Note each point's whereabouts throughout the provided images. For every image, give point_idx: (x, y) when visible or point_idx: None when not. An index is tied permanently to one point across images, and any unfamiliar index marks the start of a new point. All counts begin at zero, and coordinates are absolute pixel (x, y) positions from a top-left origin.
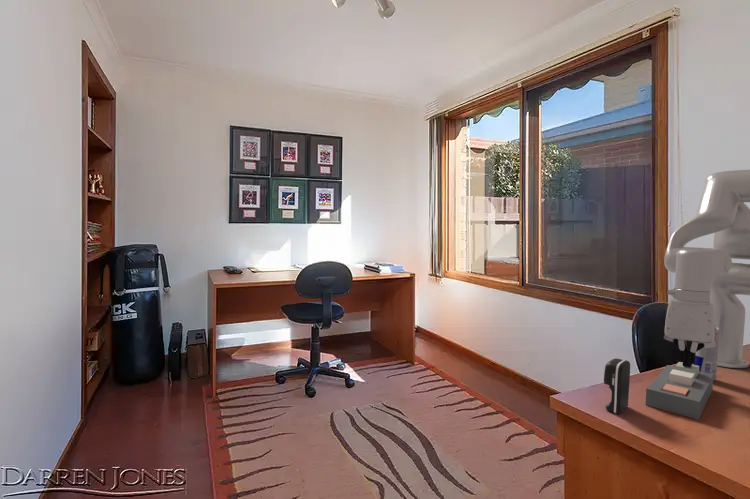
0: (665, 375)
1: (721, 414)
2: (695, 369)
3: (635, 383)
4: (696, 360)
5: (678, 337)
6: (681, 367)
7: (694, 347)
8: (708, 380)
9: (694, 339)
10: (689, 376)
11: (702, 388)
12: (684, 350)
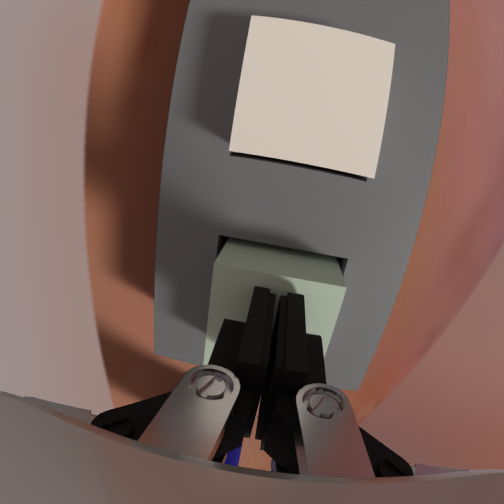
0: (398, 171)
1: (157, 9)
2: (221, 276)
3: (478, 194)
4: (225, 461)
5: (415, 491)
6: (310, 277)
7: (190, 408)
8: (165, 233)
9: (135, 470)
10: (264, 46)
11: (198, 37)
12: (294, 399)
